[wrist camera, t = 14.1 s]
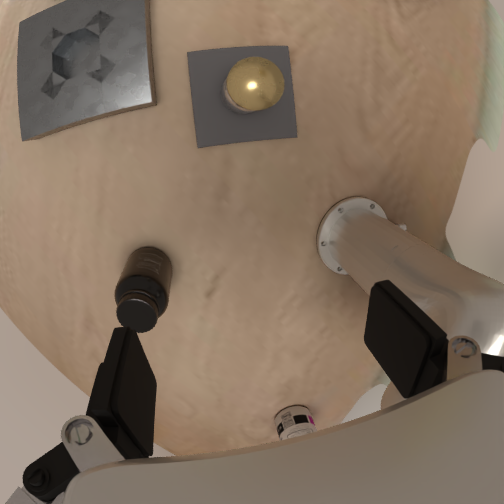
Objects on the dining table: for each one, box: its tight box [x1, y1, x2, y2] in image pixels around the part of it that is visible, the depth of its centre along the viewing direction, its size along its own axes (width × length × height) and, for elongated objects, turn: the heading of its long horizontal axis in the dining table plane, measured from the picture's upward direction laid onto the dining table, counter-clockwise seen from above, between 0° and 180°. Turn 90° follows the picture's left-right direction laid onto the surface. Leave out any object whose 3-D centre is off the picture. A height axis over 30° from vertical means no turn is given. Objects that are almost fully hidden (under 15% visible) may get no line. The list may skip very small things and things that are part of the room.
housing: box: [17, 0, 157, 141], centre depth 26 cm, size 18×18×4 cm
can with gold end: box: [221, 57, 285, 114], centre depth 30 cm, size 6×6×8 cm
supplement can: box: [275, 406, 317, 440], centre depth 54 cm, size 8×8×15 cm
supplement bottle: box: [115, 247, 172, 333], centre depth 36 cm, size 7×7×12 cm
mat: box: [187, 46, 297, 148], centre depth 34 cm, size 13×13×1 cm
